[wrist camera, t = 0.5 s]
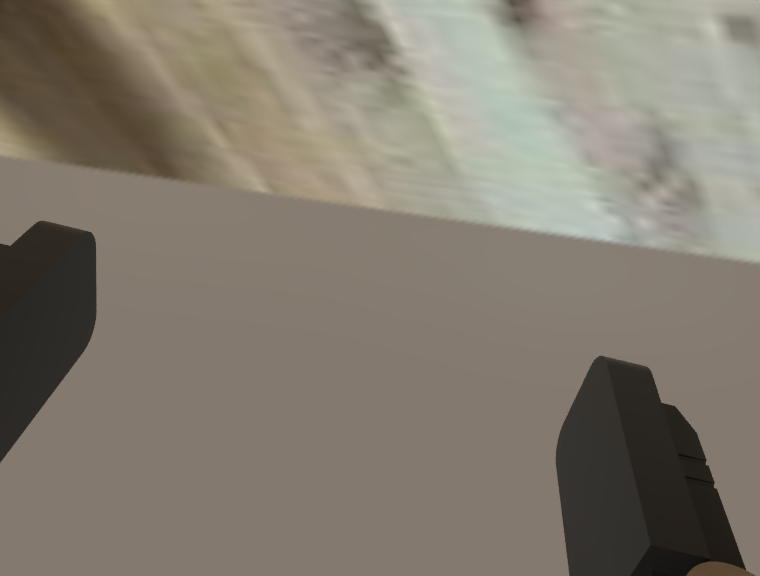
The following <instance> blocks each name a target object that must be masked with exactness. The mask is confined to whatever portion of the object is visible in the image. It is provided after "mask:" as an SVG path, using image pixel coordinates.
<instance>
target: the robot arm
mask: <svg viewBox="0 0 760 576" xmlns="http://www.w3.org/2000/svg"><path fill="white" fill-rule="evenodd" d="M95 320H96V243H95V238H94V236H93V234H92V233H91V232H88V231H84V230H80V229H76V228H71V227H67V226H63V225H59V224H55V223H51V222H46V221H39V222H37V223H36V224H34V225H33V226H32V227H31V228H30V229H29V230H28V231H26V232H25V233H24V234H23V235H22V236H21V237H20V238H19V239H18V240H16V241H15V242H14V243H13V244H12V245H11V246H8V245H3V244H0V462H1V461H2V460H3V458H4V457H5V456H6V454H7V453H8V452H9V450H10V449H11V448H12V446H13V445H14V443H15V442H16V441H17V440H18V438H19V437H20V436H21V434H22V433H23V432H24V430H25V429H26V428H27V426H28V425H29V424H30V422H31V421H32V420H33V418H34V417H35V416H36V414H37V413H38V412H39V410H40V409H41V408H42V406H43V405H44V404H45V402H46V401H47V399H48V398H49V397H50V396H51V394H52V393H53V392H54V390H55V389H56V388H57V386H58V385H59V384H60V382H61V381H62V380H63V378H64V377H65V375H66V374H67V373H68V372H69V370H70V369H71V368H72V366H73V365H74V363H75V362H76V361H77V360H78V358H79V357H80V356H81V354H82V353H83V352H84V350H85V349H86V347H87V345H88V343H89V341H90V338H91V336H92V333H93V330H94V325H95ZM556 468H557V476H558V485H559V493H560V501H561V509H562V517H563V526H564V534H565V542H566V550H567V558H568V565H569V575H570V576H755V575H754V574H752V573H750V572H748V571H746V569H745V566H744V563H743V560H742V557H741V555H740V552H739V549H738V546H737V543H736V541H735V538H734V535H733V532H732V530H731V527H730V524H729V521H728V519H727V516H726V513H725V511H724V507H723V505H722V502H721V499H720V497H719V494H718V491H717V489H715V488H714V483H715V482H714V480H713V477H712V474H711V471H710V469H709V466H707V465H706V458H705V455H704V452H703V449H702V446H701V444H700V441H699V438H698V436H697V433H696V432H695V430H694V429H693V428H692V427H691V425H690V424H689V423H688V422H687V421H686V419H685V418H684V417H683V415H682V414H681V413H680V412H679V411H678V409H677V408H676V407H675V406H672V405H668V404H664V403H661V400H660V397H659V394H658V391H657V388H656V385H655V382H654V378H653V375H652V373H651V371H650V369H649V368H648V367H646V366H642V365H638V364H633V363H629V362H625V361H621V360H616V359H613V358H608V357H604V356H599V357H597V358H596V359H595V360H594V362H593V363H592V365H591V367H590V369H589V371H588V373H587V375H586V377H585V379H584V381H583V384H582V386H581V388H580V390H579V392H578V394H577V396H576V398H575V400H574V402H573V404H572V407H571V409H570V411H569V413H568V415H567V417H566V419H565V421H564V423H563V426H562V428H561V431H560V434H559V439H558V443H557V450H556Z"/></svg>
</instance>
